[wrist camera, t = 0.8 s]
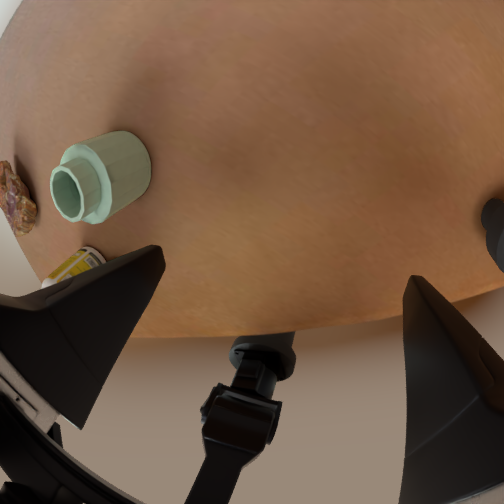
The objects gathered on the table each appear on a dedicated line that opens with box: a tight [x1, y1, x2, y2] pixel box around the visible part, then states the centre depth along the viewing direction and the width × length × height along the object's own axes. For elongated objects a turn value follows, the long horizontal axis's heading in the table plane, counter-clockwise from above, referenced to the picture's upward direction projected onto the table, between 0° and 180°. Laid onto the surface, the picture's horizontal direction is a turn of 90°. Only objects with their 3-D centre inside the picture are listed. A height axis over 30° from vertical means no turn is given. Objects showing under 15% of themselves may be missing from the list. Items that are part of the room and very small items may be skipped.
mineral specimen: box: [0, 160, 37, 237], centre depth 29 cm, size 12×8×7 cm
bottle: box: [50, 131, 151, 224], centre depth 20 cm, size 7×7×8 cm
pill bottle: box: [42, 247, 106, 289], centre depth 28 cm, size 6×6×11 cm
